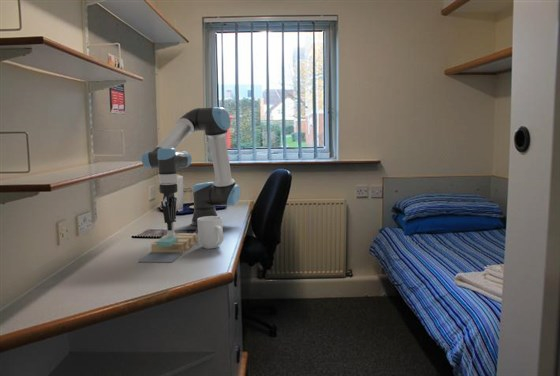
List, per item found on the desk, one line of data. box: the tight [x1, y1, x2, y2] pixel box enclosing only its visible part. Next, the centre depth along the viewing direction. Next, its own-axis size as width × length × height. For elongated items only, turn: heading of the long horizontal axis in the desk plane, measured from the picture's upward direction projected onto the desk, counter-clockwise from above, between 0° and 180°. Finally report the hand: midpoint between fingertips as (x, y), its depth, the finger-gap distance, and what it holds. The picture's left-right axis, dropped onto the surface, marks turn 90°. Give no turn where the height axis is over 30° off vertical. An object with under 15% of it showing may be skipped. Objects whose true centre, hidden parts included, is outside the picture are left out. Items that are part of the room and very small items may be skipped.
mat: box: [137, 251, 184, 264], centre depth 189 cm, size 14×14×1 cm
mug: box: [196, 215, 224, 250], centre depth 202 cm, size 15×11×13 cm
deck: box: [150, 233, 198, 254], centre depth 205 cm, size 20×14×4 cm
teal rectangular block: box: [156, 236, 178, 247], centre depth 196 cm, size 9×6×2 cm, turn 173°
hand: (171, 237), depth 201 cm, fingers closed
